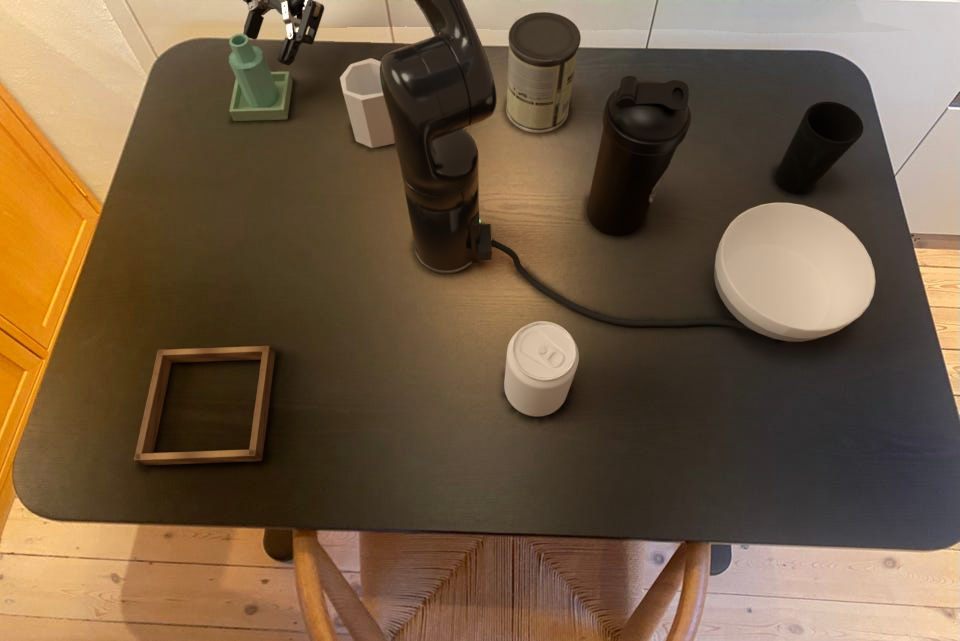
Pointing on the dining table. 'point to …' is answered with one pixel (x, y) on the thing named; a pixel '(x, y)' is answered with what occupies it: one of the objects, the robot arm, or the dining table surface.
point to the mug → (367, 104)
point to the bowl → (793, 272)
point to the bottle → (252, 72)
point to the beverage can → (540, 368)
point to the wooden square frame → (158, 395)
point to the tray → (276, 112)
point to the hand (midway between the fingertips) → (266, 50)
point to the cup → (817, 145)
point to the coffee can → (541, 70)
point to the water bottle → (636, 151)
